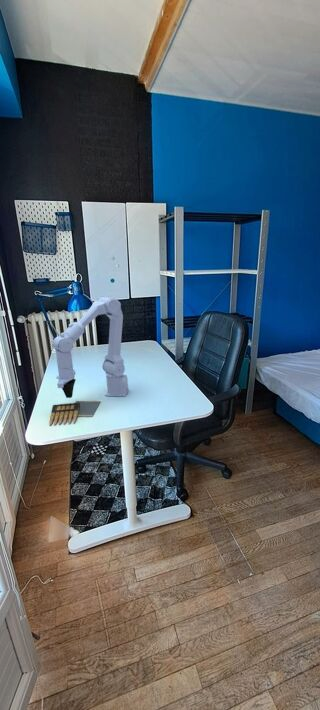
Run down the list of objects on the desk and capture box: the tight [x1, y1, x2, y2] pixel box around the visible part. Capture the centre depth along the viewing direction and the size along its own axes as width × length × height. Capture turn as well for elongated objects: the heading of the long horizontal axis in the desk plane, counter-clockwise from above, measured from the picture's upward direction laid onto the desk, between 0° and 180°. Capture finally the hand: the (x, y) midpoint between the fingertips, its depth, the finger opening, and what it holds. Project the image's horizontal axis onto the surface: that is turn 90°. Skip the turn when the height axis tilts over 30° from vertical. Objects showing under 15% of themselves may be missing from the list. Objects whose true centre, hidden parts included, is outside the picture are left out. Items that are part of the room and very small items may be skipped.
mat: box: [68, 400, 101, 418], centre depth 124 cm, size 11×13×1 cm
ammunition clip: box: [48, 402, 80, 426], centre depth 117 cm, size 11×2×12 cm
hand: (69, 397), depth 122 cm, fingers closed
